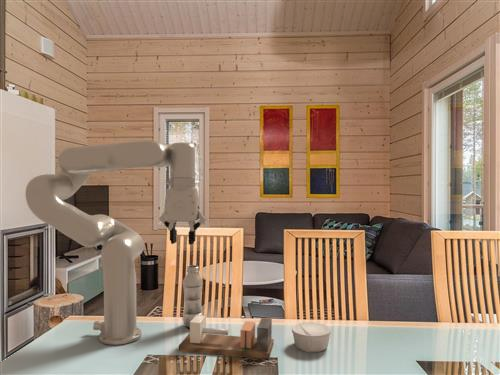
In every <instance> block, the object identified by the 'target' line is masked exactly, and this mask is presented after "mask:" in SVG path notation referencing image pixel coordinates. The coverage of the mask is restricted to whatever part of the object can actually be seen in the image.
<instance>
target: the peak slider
mask: <svg viewBox="0 0 500 375" xmlns="http://www.w3.org/2000/svg"><path fill="white" fill-rule="evenodd" d="M239 336H240V348H244V350H246V348H251V347H252V345H253V343H254V340H255V338H256V321H247V320H245V321H244V322H243V325H242V326H241V328H240V334H239Z"/></svg>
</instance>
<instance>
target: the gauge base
mask: <svg viewBox="0 0 500 375" xmlns="http://www.w3.org/2000/svg"><path fill="white" fill-rule="evenodd" d="M272 326H273V325H272V318H270V317H269V318H268V317H261V318H260V320H259V323H258V325H257V327H256V337H255V340H254V343H253V345H252V347H251V348H246V350H244V348H240V335H238V336H237V335H219V334H206V336H205V337H204V339H203V340H202V341H201V343H190V332H189V333H188V334H187V335H186V336H185V338H184V339H183V340H182V341H181V342H180V343H179V345H178V352H188V353H198V354H209V355H221V356H222V355H223V356H231V357H242V358H243V357H245V358H253V359H254V358H256V359H266V360H267V359H268V360H269V359H270V357H271V353H272V351H273V348H274V347H273V346H274V345H275V344H274V342H275V341H274V340H275V339H273V338H272V337H273V336H272V330H273V327H272Z"/></svg>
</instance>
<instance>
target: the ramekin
mask: <svg viewBox="0 0 500 375" xmlns="http://www.w3.org/2000/svg"><path fill="white" fill-rule="evenodd" d="M331 331H332V330H331V328H330V327H329V326H328V325H326V324H323V323H320V322H310V321H307V322H306V321H304V322H299V323H296V324H294V325H293V326H292V328H291V332H292V336H293V341H294V345H295V347H296V348H298V349H299V350H301V351H303V352H305V353H306V352H307V353H320V352H323V351H325V350H326V349H327V348H328V346H329V341H330V337H331V334H332V332H331Z"/></svg>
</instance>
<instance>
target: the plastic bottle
mask: <svg viewBox="0 0 500 375" xmlns="http://www.w3.org/2000/svg"><path fill="white" fill-rule="evenodd" d="M199 268H200V267H199V265H196V264H190V265H187V267H186V273H187V274H186V275H185V276H184V278H183V280H182V288H183V298H184V309H183V314H182V323H183V325H184V327H186V328H190V322H191V320H192V319H193V318H194V317H195V316H196V315H201V316H204V315H203V311H202V291H203V279H202V277H201V275H200V274H199V271H200V270H199Z"/></svg>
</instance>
